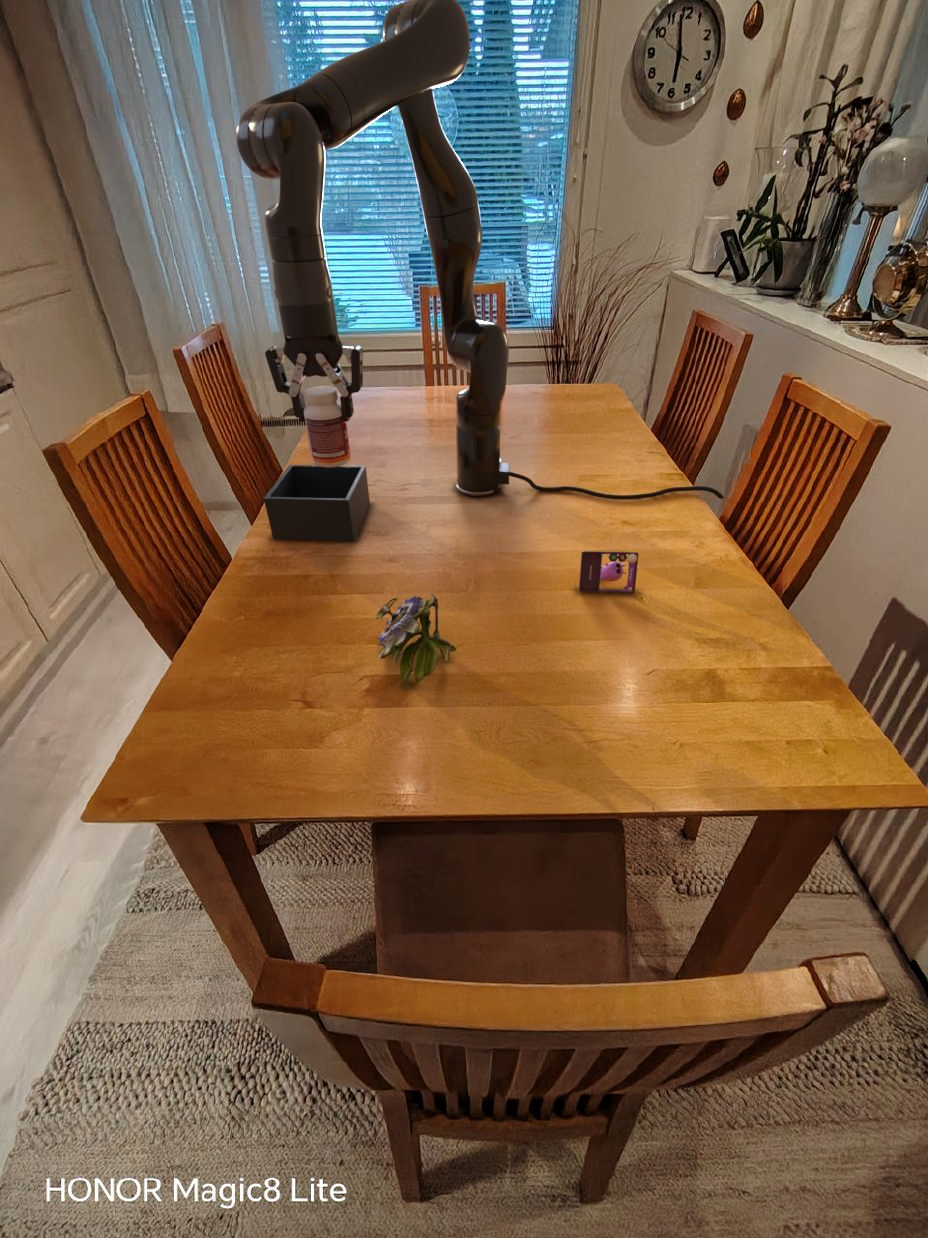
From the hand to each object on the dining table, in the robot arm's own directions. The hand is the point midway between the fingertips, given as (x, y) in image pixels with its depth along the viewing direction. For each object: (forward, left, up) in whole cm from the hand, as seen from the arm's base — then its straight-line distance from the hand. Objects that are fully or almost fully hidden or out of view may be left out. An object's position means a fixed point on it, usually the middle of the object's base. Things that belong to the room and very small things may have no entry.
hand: (325, 419), depth 90 cm
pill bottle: (0, 0, -7) cm, 7 cm away
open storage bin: (+8, -14, -25) cm, 30 cm away
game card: (-45, +6, -25) cm, 52 cm away
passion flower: (-16, +26, -25) cm, 40 cm away
